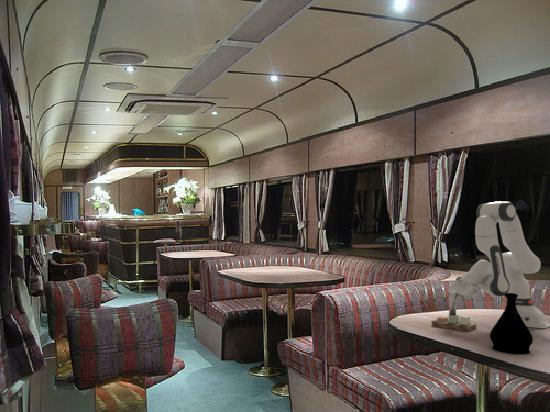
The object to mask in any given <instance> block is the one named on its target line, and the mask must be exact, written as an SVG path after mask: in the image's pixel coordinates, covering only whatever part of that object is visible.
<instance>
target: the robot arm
mask: <svg viewBox="0 0 550 412" xmlns="http://www.w3.org/2000/svg"><path fill="white" fill-rule="evenodd" d="M475 211H476V212H475V214H476V215H475V216H476V221H475V226H474V227H475V228H474V229H475V230H474V235H475V237H474V238H475V245H476V247H477V249H478V250H479V251H480V252H481V253H483V254H484V255H486V257H487V258H488V259H479V260H478V261H476V262H475V263H474V264H473V266H471V268H470V269H469V271H468V272H466V273H465V274H464V275H462V276H457V277H456V278H455V281H453V282H452V283H451V285H449V287H448V288H447V291H446V292H447V293H448V294H449V292H456V299H454V300H453V302H454V303H456V304H457V303H458V302H460V301H462V300H467V301H470V300H472V299H473V298H474V296H475V295H476V293H477V292H478V289H479V290H481V291H482V292H484V293H487V294H491V295H494V296H497V297H505V294H506V293H515V294H517V295H518V297H517V298H516V299H515V304H516V308H517V311H518V313H519V315H520V316H521V318H522V320H523V321H524V323H525V325H526V326H527V328H528V327H529V328H534V329H536V328H538V329H547V328H549V327H550V322H546V318H545V317H546V316H545V314H544V312H543V311H541V310H540V309H539V308H537V307H536V306H534V302H535V300H534V299H532V298H531V297H530V295H531V294H530V292H531V291H530V290H531V287H530V286H531V285H530V282H529V281H528V280H526V278H525V276H524V274H525V275H528V274H529V275H530V274H535V273H537V272H539V271H540V269H541V266H542V265H541V260H540V258H539V257H538V256H537V255H536V254H534V252H533V251H532V249H530V247H529V245H528V244H527V242H526V239H525V235H524V231H523V228H522V224H521V221H520V219H519V215H518V214H517V209H516V206H515V205H514V204H513V203H512V202H511V201H494V202H487V203H481V204H479V205H478V207H477V208H476V210H475ZM497 223H498V226H499V232H500V236H501V240H502V244H503V245H504V247H506V249H507V250H509V251H508V252H502V250H501V248H500V244H499V238H498V230H497ZM447 300H448V301H449V298H448V299H447Z"/></svg>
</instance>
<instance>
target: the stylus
mask: <svg viewBox="0 0 550 412" xmlns="http://www.w3.org/2000/svg"><path fill="white" fill-rule="evenodd" d="M448 294H449V297H448V299H449V300H448V301H449V303H448V304H449V305H448V307H449V308H448V309H449V310H448V316H449V315H457V303H454V302H453V300H454V299H456V298H457V297H456V292H449V293H448Z"/></svg>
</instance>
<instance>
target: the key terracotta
mask: <svg viewBox="0 0 550 412" xmlns="http://www.w3.org/2000/svg"><path fill="white" fill-rule="evenodd" d="M437 319H438V321H440V322H447V321H448V320H449V316H442V315H440V316H437Z"/></svg>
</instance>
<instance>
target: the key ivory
mask: <svg viewBox="0 0 550 412" xmlns="http://www.w3.org/2000/svg"><path fill="white" fill-rule="evenodd" d="M459 321H460V324H462V325H469V324H470V323H471V315H470V316H468V315H459Z"/></svg>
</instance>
